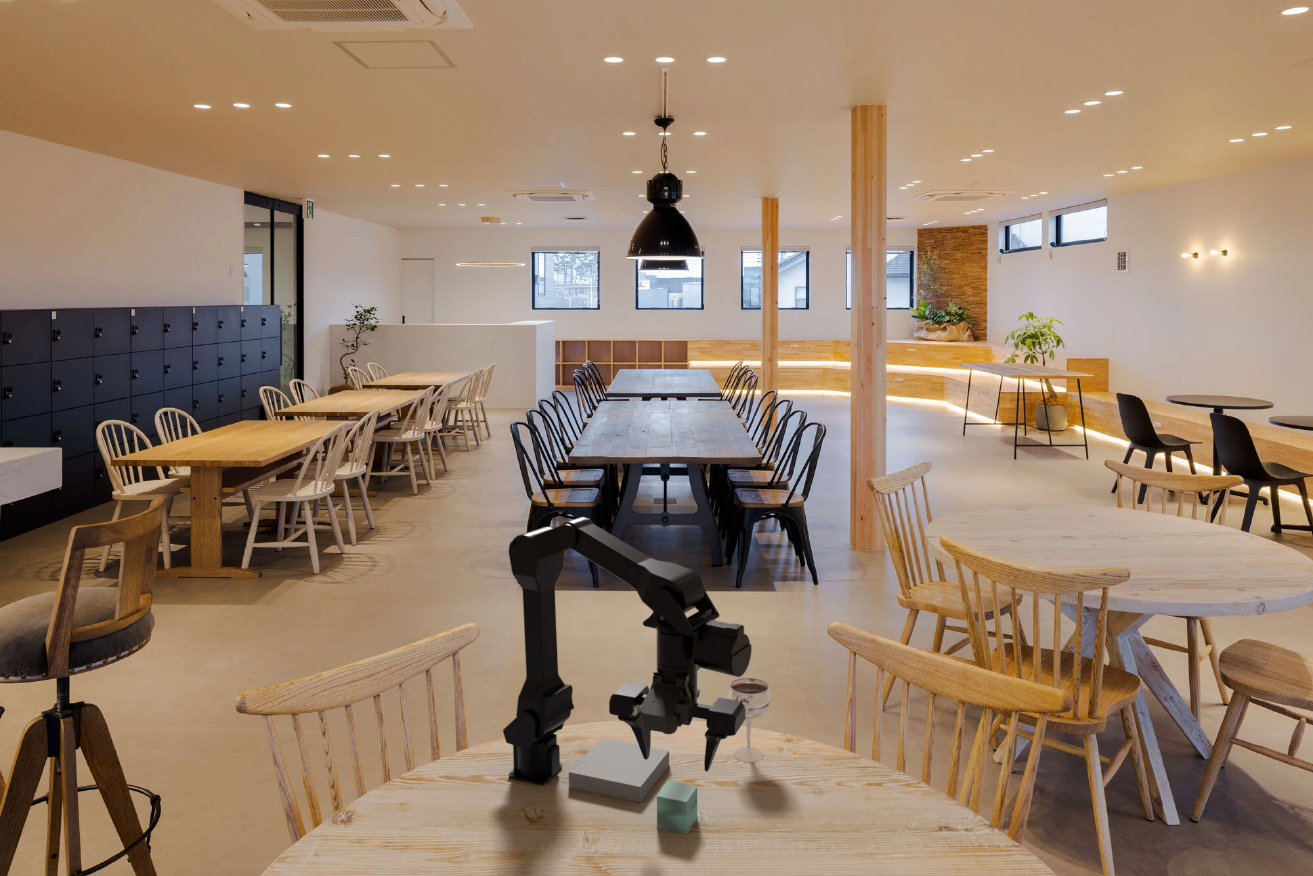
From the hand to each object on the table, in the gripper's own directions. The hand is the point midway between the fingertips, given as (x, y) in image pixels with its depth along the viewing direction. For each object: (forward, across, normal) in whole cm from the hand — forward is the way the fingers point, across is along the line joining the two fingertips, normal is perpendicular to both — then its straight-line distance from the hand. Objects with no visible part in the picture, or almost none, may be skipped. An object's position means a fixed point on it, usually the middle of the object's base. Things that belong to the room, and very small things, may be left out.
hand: (676, 764), depth 129 cm
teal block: (+9, 0, 0) cm, 9 cm away
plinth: (+9, -13, +9) cm, 18 cm away
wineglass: (+9, +4, +23) cm, 25 cm away
